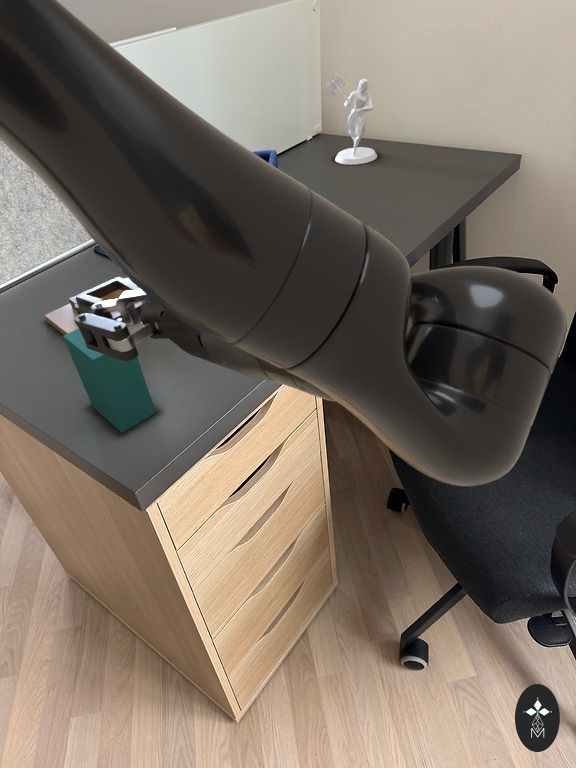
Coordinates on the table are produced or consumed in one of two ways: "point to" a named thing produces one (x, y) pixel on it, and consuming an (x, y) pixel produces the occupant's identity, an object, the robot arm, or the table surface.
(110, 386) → the foam pad
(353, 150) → the figurine
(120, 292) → the cork base pad
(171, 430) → the table surface
